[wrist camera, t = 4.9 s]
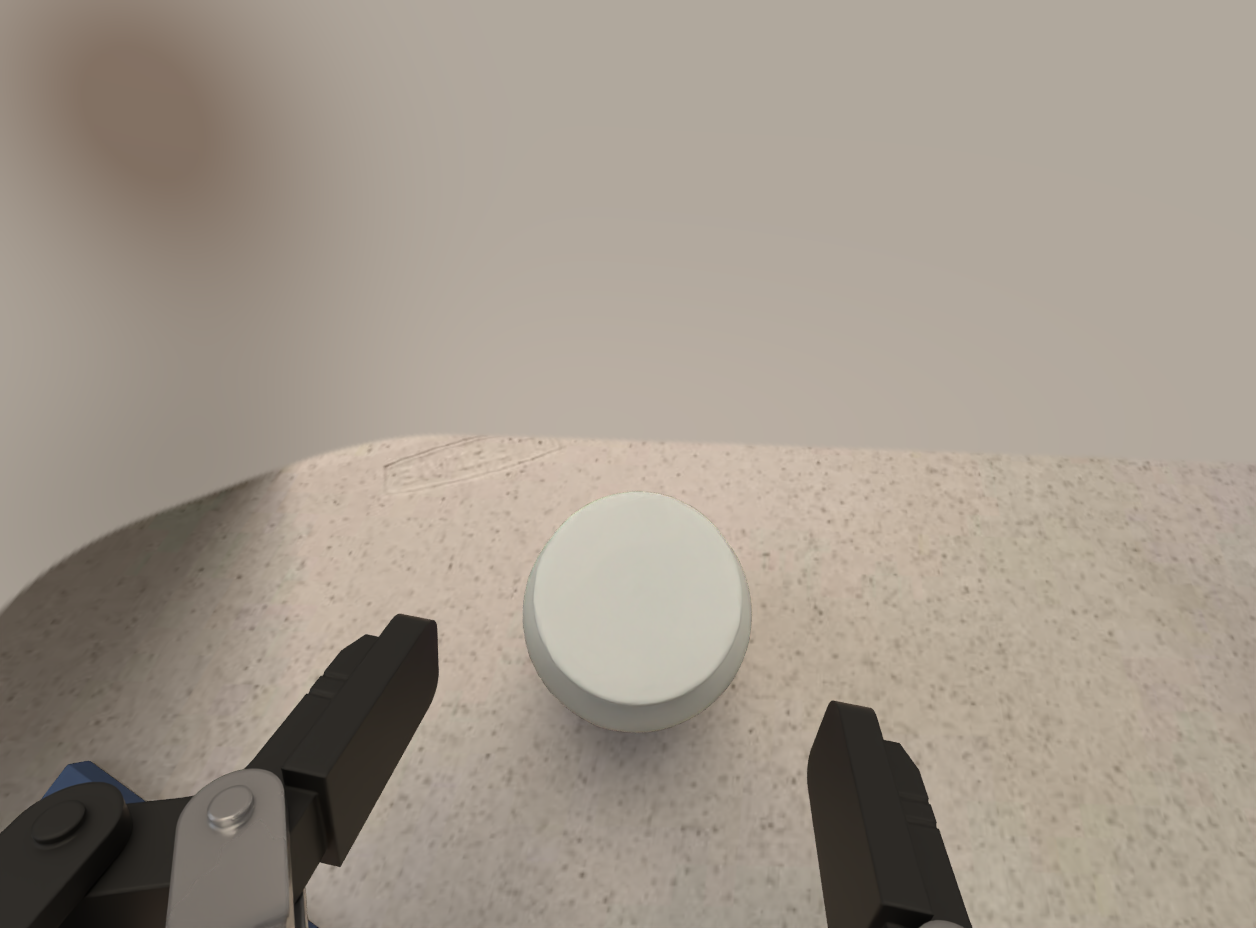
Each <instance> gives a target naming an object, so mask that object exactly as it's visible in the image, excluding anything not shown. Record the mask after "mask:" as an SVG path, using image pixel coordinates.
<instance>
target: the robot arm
mask: <svg viewBox="0 0 1256 928" xmlns="http://www.w3.org/2000/svg"><path fill="white" fill-rule="evenodd" d="M438 676H439V667H438V636H437V624H436V622H435V621H434V620H430V619H425V618H419V617H414V616H409V615H404V614H397V615H396V616H395V617H394V618H393V619H392V620H391V621H390V623H389V624H388V625H387V627H386V628H385V629H384V631H383V632H382V633H381V635H380V636H379V637H377V636H372V635H367V634H365V635H364V636H362V637H361V638H359V639H358V640H356V641H355V642H353V643H352V644H350V645H349V646H347V647H346V648H344V649H343V650H341V651H340V653H339V654H338V655H337V656H336V658H335V659H334V660H333V661H332V663H331V664H330V665H329V666H328V668H327V669H326V670H325V671H324V675H323V676H320V677H319V679H318V680H317V681H316V682H315V684H314V685H313V686H312V687H311V689H310V692H309V694H306V695H305V696H304V697H303V698H302V700H301V701H300V702H299V703H298V705H297V706H296V707H295V708H294V710H293V711H292V712H291V713H290V715H289V716H288V717H287V718H286V720H285V721H284V722H283V723H282V724H281V726H280V727H279V728H278V729H277V731H276V732H275V733H274V734H273V736H272V737H271V738H270V739H269V741H268V742H267V743H266V744H265V745H264V747H263V748H262V749H261V750H260V752H259V753H258V754H257V755H256V757H255V758H254V759H253V760H252V761H251V762H250V763H249V765H248V766H247V767H246V768H244V769H243V770H238V771H234V772H231V773H229V774H226V775H224V776H222V777H220V778H218V779H216V780H214V781H212V782H211V783H209V784H208V785H206V786H205V787H204V788H202V789H201V790H200V791H199V792H198V793H197V794H196V795H194V796H190V797H184V798H176V799H166V800H157V801H147V802H138V803H128V804H126V803H125V800H124V798H123V796H122V793H121V791H120V790H119V789H118V788H117V787H115V786H113V785H112V784H109V783H105V782H86V783H81V784H76V785H73V786H70V787H66V788H64V789H61V790H59V791H57V792H54V793H52V794H50V795H48V796H47V797H45V798H43V799H41V800H40V801H38V802H36V803H35V804H33V805H32V806H31V807H29V808H28V809H27V810H25V811H24V812H23V813H22V814H21V815H19V816H18V817H17V818H16V819H15V820H14V821H13V822H12V823H11V824H10V825H9V826H8V827H7V828H6V829H5V830H4V831H2V832H1V833H0V928H308V915H307V901H306V889H305V886H306V884H307V883H308V881H309V879H310V878H311V876H312V874H313V873H314V871H315V869H316V867H317V866H318V864H319V862H321V863H325V864H329V865H334V866H338V867H341V865H342V863H343V861H344V860H345V858H346V856H347V854H348V852H349V851H350V849H351V847H352V845H353V843H354V842H355V840H356V838H357V836H358V834H359V832H360V831H361V829H362V827H363V825H364V823H365V822H366V820H367V818H368V816H369V814H370V813H371V811H372V809H373V807H374V805H375V804H376V802H377V800H378V798H379V796H380V795H381V793H382V791H383V789H384V787H385V786H386V784H387V782H388V780H389V778H390V777H391V775H392V773H393V771H394V769H395V768H396V766H397V764H398V762H399V760H400V759H401V757H402V755H403V753H404V751H405V750H406V748H407V746H408V744H409V742H410V741H411V739H412V737H413V735H414V733H415V732H416V730H417V728H418V726H419V724H420V723H421V721H422V719H423V717H424V715H425V714H426V712H427V710H428V708H429V706H430V704H431V702H432V700H433V697H434V694H435V691H436V688H437V683H438ZM807 784H808V792H809V799H810V806H811V813H812V820H813V827H814V834H815V841H816V848H817V855H818V862H819V869H820V876H821V883H822V890H823V897H824V904H825V911H826V918H827V925H828V928H972V925H971V923H970V920H969V917H968V914H967V911H966V908H965V905H964V902H963V899H962V896H961V893H960V891H959V888H958V885H957V882H956V879H955V876H954V873H953V870H952V867H951V864H950V861H949V858H948V855H947V852H946V849H945V846H944V843H943V840H942V837H941V834H940V831H939V829H937V827H936V823H937V822H936V819H935V816H934V813H933V810H932V807H931V804H929V803H928V799H929V798H928V795H927V792H926V789H925V786H924V783H923V780H922V777H921V774H920V771H919V769H918V768H917V767H916V765H915V764H914V762H913V761H912V760H911V758H910V757H909V756H908V754H907V753H906V751H905V750H904V749H903V747H902V746H901V744H900V743H896V742H891V741H886V740H883V736H882V733H881V730H880V726H879V723H878V719H877V716H876V714H875V712H874V710H873V709H872V708H868V707H863V706H858V705H853V704H848V703H843V702H838V701H831V702H830V703H829V705H828V707H827V709H826V712H825V714H824V717H823V720H822V722H821V725H820V727H819V730H818V733H817V735H816V738H815V740H814V743H813V746H812V748H811V751H810V755H809V760H808V768H807Z"/></svg>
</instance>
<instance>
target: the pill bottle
mask: <svg viewBox="0 0 1256 928" xmlns="http://www.w3.org/2000/svg"><path fill="white" fill-rule="evenodd" d="M751 621H752V608H751V598H750V592H749V588H748V583H747V580H746V577H745V574H744V571H743V569H742V566H741V564H740V562H739V560H738V558H737V556H736V554H735V553H734V551H733V550H732V548H731V547H730V545H729V544H728V542H727V541H726V540H725V538H724V537H723V536H722V534H721V533H720V532H719V530H718V529H717V528H716V527H715V526H714V525H713V523H712V522H711V521H709V520H708V519H707V518H706V517H705V516H704V515H703V514H701V513H700V512H699V511H697V510H696V509H694V508H693V507H691V506H689V505H687V504H685V503H684V502H682V501H679V500H677V499H675V498H673V497H670V496H666V495H663V494H659V493H652V492H643V491H634V492H624V493H618V494H613V495H609V496H606V497H603V498H600V499H598V500H595V501H593V502H591V503H589V504H587V505H586V506H584V507H583V508H581V509H580V510H578V511H577V512H575V513H574V514H572V515H571V516H570V517H569V518H568V519H567V520H566V521H565V522H564V523H563V524H562V525H561V526H560V527H559V528H558V529H557V531H556V532H555V533H554V535H553V536H552V537H551V538H550V539H549V541H548V542H547V543H546V545H545V546H544V548H543V549H542V551H541V552H540V554H539V555H538V557H537V559H536V561H535V563H534V565H533V568H532V570H531V572H530V575H529V578H528V581H527V585H526V590H525V595H524V601H523V629H524V635H525V641H526V645H527V649H528V653H529V656H530V658H531V660H532V663H533V665H534V667H535V669H536V671H537V673H538V675H539V677H540V678H541V680H542V681H543V683H544V684H545V686H546V687H547V688H548V690H549V691H550V692H551V693H552V694H553V695H554V696H555V697H556V698H557V699H558V700H559V701H560V702H561V703H562V704H563V705H564V706H565V707H566V708H568V709H569V710H570V711H572V712H573V713H574V714H576V715H578V716H579V717H581V718H582V719H584V720H586V721H588V722H590V723H591V724H593V725H596V726H598V727H601V728H604V729H608V730H614V731H621V732H630V733H640V732H653V731H658V730H662V729H666V728H670V727H672V726H675V725H678V724H681V723H683V722H685V721H687V720H689V719H691V718H693V717H695V716H696V715H698V714H699V713H701V712H702V711H704V710H705V709H706V708H707V707H709V706H710V705H711V704H712V703H713V702H714V701H715V700H716V699H717V698H718V697H719V696H720V695H721V694H722V693H723V692H724V691H725V690H726V689H727V687H728V686H729V685H730V683H731V682H732V680H733V679H734V677H735V675H736V673H737V671H738V670H739V668H740V665H741V663H742V661H743V659H744V656H745V653H746V650H747V646H748V643H749V639H750V631H751Z"/></svg>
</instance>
